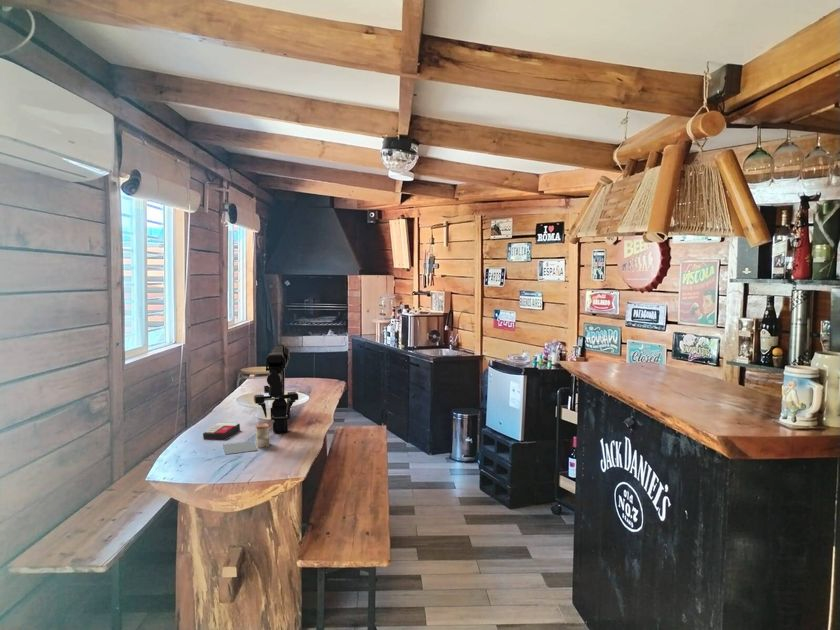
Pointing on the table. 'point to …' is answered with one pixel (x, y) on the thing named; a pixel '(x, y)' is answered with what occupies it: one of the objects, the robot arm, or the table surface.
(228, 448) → the mat
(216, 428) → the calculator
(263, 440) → the block
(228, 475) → the table surface
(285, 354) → the robot arm
